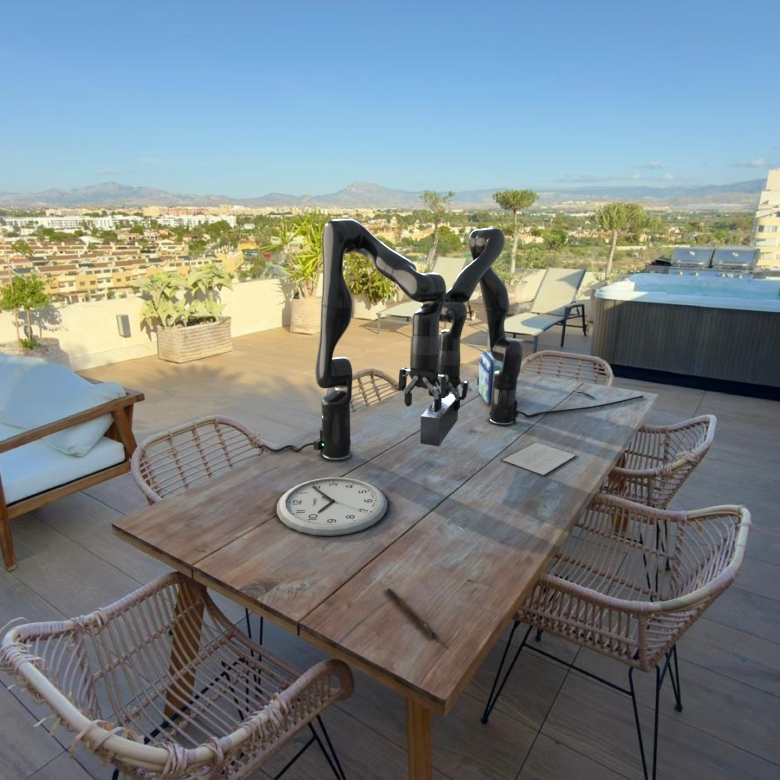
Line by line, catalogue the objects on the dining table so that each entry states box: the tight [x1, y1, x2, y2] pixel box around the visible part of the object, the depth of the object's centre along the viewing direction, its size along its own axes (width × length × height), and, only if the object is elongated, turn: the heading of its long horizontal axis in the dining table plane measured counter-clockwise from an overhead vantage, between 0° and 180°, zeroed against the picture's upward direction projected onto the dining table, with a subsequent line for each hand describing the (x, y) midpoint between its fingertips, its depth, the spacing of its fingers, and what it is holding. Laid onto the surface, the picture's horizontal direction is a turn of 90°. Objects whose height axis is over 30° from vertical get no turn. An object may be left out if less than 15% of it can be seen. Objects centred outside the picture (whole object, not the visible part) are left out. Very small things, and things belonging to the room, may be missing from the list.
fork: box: [572, 384, 595, 399], centre depth 243 cm, size 3×16×2 cm, turn 16°
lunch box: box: [476, 351, 503, 406], centre depth 230 cm, size 26×11×21 cm, turn 179°
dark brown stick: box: [386, 587, 434, 638], centre depth 103 cm, size 15×1×1 cm, turn 34°
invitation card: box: [502, 442, 577, 476], centre depth 174 cm, size 21×1×15 cm
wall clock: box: [276, 476, 388, 537], centre depth 142 cm, size 30×2×30 cm
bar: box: [419, 393, 459, 447], centre depth 171 cm, size 24×6×9 cm, turn 159°
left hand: (422, 408), depth 143 cm, fingers open, 8 cm apart
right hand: (446, 409), depth 178 cm, fingers closed on bar, 6 cm apart
